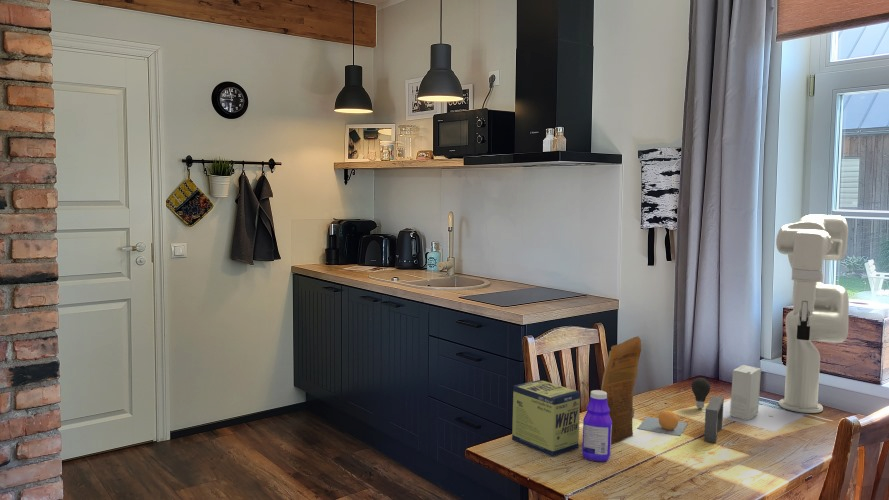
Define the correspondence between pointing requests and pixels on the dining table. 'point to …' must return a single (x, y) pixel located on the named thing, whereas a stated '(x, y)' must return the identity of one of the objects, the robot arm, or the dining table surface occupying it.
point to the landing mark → (654, 426)
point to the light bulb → (700, 391)
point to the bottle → (597, 428)
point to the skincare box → (745, 392)
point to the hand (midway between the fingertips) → (803, 339)
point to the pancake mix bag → (621, 386)
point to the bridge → (713, 419)
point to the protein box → (546, 417)
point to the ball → (668, 420)
